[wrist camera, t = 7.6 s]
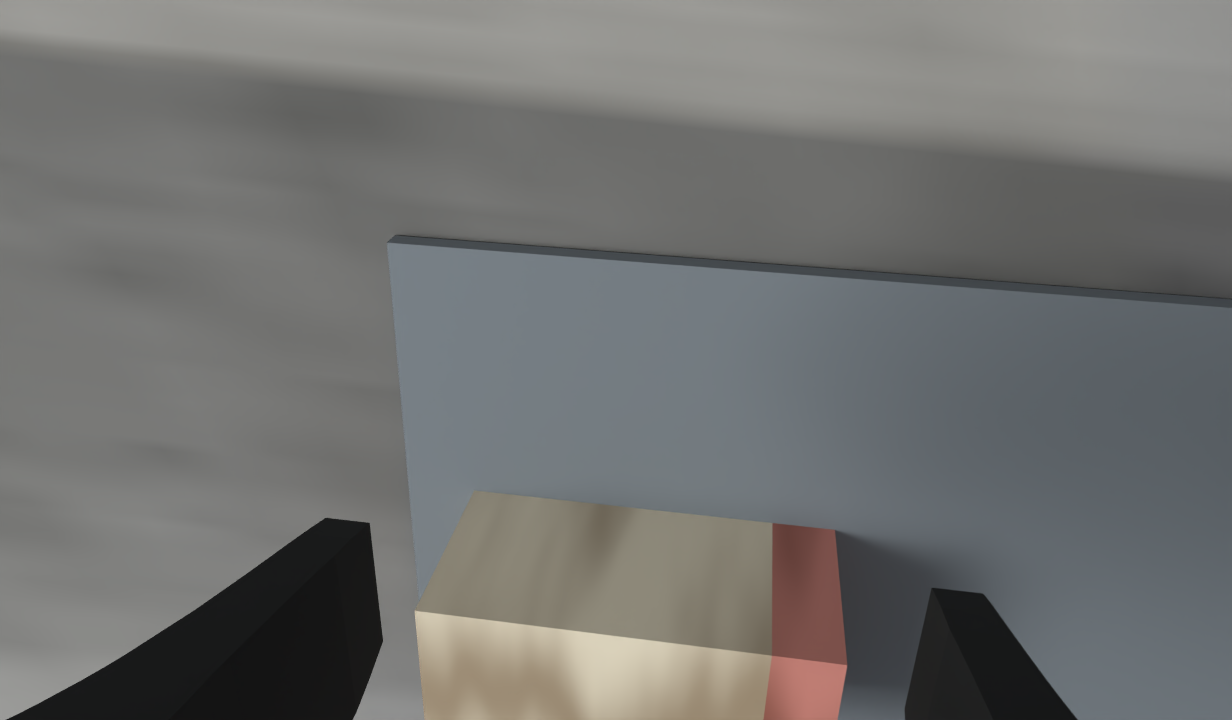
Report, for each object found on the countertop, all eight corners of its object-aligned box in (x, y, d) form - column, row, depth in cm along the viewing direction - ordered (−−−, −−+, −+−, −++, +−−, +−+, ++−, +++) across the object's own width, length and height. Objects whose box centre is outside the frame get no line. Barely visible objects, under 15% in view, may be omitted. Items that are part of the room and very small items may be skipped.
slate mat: (1279, 852, 26) (1288, 868, 26) (437, 732, 29) (431, 745, 29) (1553, 323, 19) (1572, 334, 18) (394, 235, 22) (386, 242, 21)
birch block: (817, 831, 21) (429, 774, 22) (810, 682, 25) (481, 639, 26) (847, 665, 19) (414, 610, 20) (834, 529, 23) (474, 490, 24)
